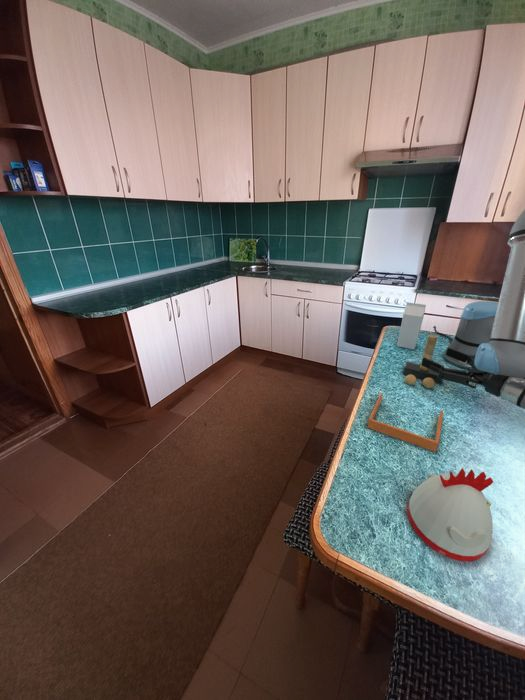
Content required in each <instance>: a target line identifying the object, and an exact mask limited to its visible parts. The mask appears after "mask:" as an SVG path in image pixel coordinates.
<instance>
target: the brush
mask: <svg viewBox="0 0 525 700" xmlns="http://www.w3.org/2000/svg"><path fill="white" fill-rule="evenodd" d="M438 337H439V336H438V334H433V333H431V334H428V335H427V339H426V343H425V346H424V351H423V354H422V357H421V361H420V364H418V363H415V362H409V361H406V362H405V366H404V369H403V374H402V375H404V376H407V375H414V376H415V377H416V379H420V380H422V381H423V380H424V379H425V378H432V379H433V380H434V381H435V384H438V385H441V383H442V381H443V379H439V378H438V373H437V372H435V371H432V370H430V369H428V368H426V367H424V366H422V365H421V364H422V360H423V358H424V357H425V358H427V359H429V360H431V361H432V359H433V355H434V351H435V348H436V344H437V341H438Z"/></svg>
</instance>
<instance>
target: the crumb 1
mask: <svg viewBox="0 0 525 700" xmlns="http://www.w3.org/2000/svg"><path fill="white" fill-rule="evenodd" d="M404 382H405V383H406V384H407V385H409V386H413V385H415V384H416V383H417V378H416V377H415V376H414V375H405V377H404Z"/></svg>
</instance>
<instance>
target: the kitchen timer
mask: <svg viewBox="0 0 525 700" xmlns="http://www.w3.org/2000/svg"><path fill="white" fill-rule="evenodd" d="M493 483H494V480H493V479H492V476H490V477H488V478H487V475H486V473H485V471H481V472H480V473H478V475H477V476H476V475H475V472H474V469H470V470H469V472H468V473H467V475H466V470H465V469H464V468H463V467H462V468H461V469H460V470H459V472H458V473H454V472H453V471H452V470H451V471H449V473H440V474H435V473H429V474H428V475H427V479H426V480H424V481H423V482H422V483H421V484H419V485H418V486H417V487H416V488H415V489H414V491H413V492H412V494H411V496H410V498H409V500H408V503H407V510H406V511H407V517H408V520H409V523H410V525H411V526H412V528H413V530H414V532H415V533H416V534H417V536H418V537H419V538H420V539H421V541H423V543H425V544H426V545H427V546H429V547H430V548H431V549H432V550H434V551H435V552H437V553H438V554H440V555H443V556H444V557H445V558H449V559H452V560H455V561H459V562H474V561H478V560H480V559H482V557H483V556H484V555H485V554H486V553H487V551H488V550H489V548H490V546H491V542H492V538H493V529H494V528H493V516H492V511H491V506H492V503H490V501H489V500H488V499H487V498H486V496H485V495H484V493H483V491H484V490H485V489H487V488H488V487H490V486H491V485H492V484H493Z"/></svg>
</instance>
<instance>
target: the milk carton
mask: <svg viewBox="0 0 525 700" xmlns="http://www.w3.org/2000/svg"><path fill="white" fill-rule="evenodd" d="M426 306H427V305H426V304H422V303H415V302H408V301H407V302H406V304H405V307H404V311H403V314H402V319H401V323H400V327H399V331H398V337H397V342H396V347H400V348H405V349H408V350H415V349H416V346H417V344H418V340H419V336H420V332H421V329H422V324H423V320H424V316H425V313H426Z"/></svg>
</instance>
